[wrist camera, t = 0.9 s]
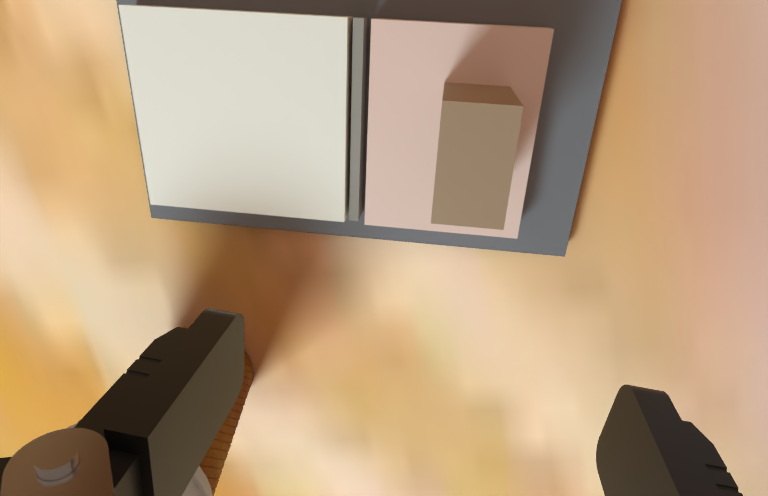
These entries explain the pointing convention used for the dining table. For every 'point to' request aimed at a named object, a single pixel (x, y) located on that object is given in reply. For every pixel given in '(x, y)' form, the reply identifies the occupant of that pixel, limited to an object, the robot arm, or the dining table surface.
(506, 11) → the ticket base
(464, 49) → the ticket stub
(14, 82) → the dining table surface
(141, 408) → the robot arm
